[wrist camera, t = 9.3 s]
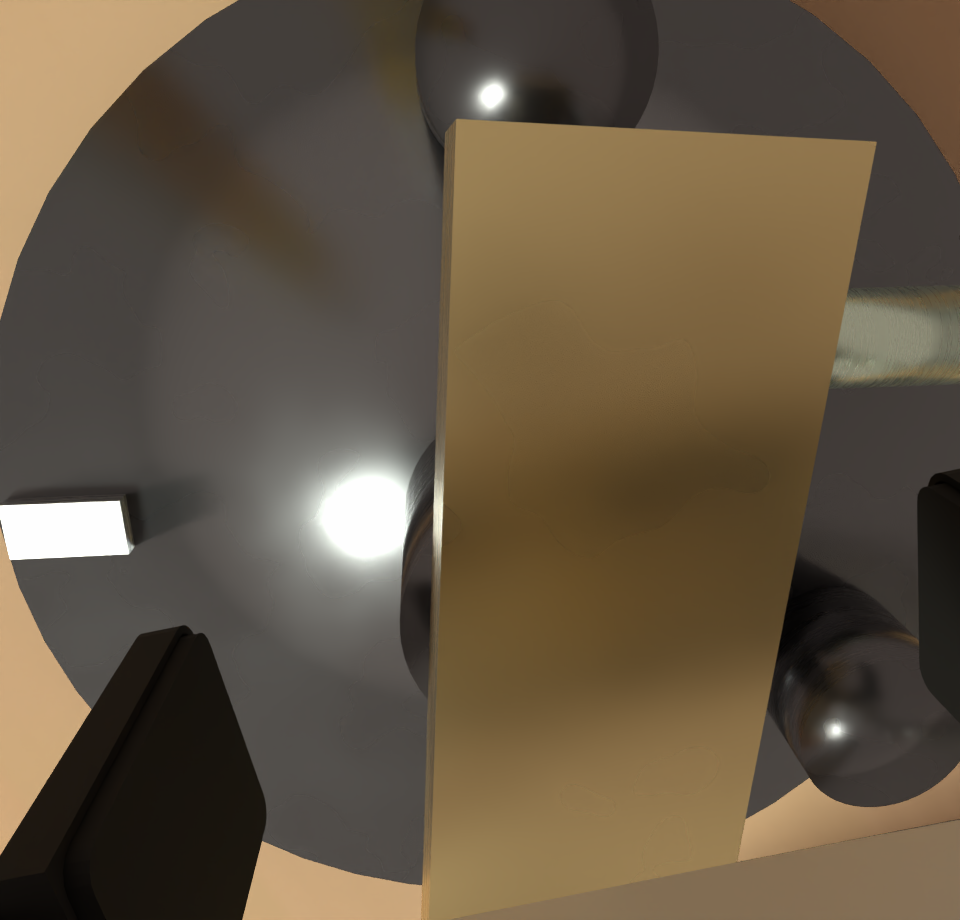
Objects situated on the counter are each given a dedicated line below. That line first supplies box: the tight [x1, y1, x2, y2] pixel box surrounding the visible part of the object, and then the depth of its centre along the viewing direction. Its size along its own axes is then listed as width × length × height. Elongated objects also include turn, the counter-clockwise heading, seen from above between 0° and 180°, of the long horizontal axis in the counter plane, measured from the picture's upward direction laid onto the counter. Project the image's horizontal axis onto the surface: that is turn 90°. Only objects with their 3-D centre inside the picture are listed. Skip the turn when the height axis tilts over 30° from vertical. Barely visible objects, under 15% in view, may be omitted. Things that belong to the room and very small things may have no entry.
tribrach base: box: [0, 0, 960, 885], centre depth 15 cm, size 18×18×4 cm
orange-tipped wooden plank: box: [400, 119, 877, 920], centre depth 12 cm, size 13×4×7 cm, turn 177°
